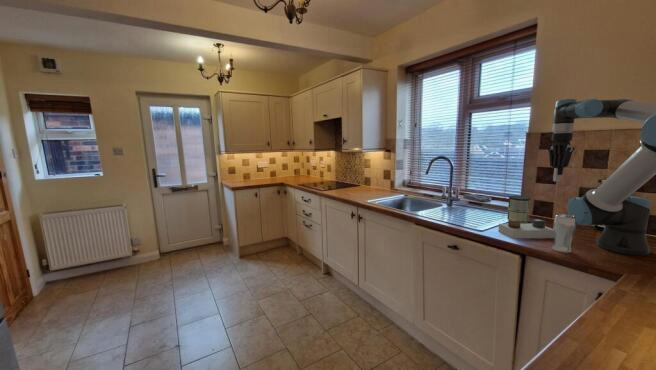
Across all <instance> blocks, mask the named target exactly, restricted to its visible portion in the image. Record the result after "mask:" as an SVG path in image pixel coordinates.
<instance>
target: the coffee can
mask: <svg viewBox="0 0 656 370" xmlns="http://www.w3.org/2000/svg"><path fill="white" fill-rule="evenodd" d="M530 204H531V197H529V196H526V195H525V196H524V195H509V196H508V207H507V219H508V220H509V219H515V220H519V221H521V224H528V222H529V217H530V208H531V207H530V206H531V205H530ZM508 220H507V221H508Z"/></svg>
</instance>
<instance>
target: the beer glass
mask: <svg viewBox="0 0 656 370" xmlns="http://www.w3.org/2000/svg"><path fill="white" fill-rule="evenodd" d="M576 227H577V223H576V217H575V216H572V215H569V214H565V213H556V214H555V215H554V220H553V227H552V229H553V230H554V238H553V240H554V242H553V245H552V248H551V249H552V250H553V251H555V252H559V253H562V254H563V253H566V254H569V253H572V247H571V246H572V245H571V244H572V241H573V238H574V236H575V235H574V234H575V233H576Z"/></svg>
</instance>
